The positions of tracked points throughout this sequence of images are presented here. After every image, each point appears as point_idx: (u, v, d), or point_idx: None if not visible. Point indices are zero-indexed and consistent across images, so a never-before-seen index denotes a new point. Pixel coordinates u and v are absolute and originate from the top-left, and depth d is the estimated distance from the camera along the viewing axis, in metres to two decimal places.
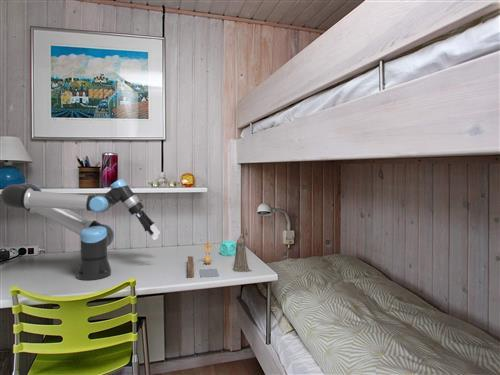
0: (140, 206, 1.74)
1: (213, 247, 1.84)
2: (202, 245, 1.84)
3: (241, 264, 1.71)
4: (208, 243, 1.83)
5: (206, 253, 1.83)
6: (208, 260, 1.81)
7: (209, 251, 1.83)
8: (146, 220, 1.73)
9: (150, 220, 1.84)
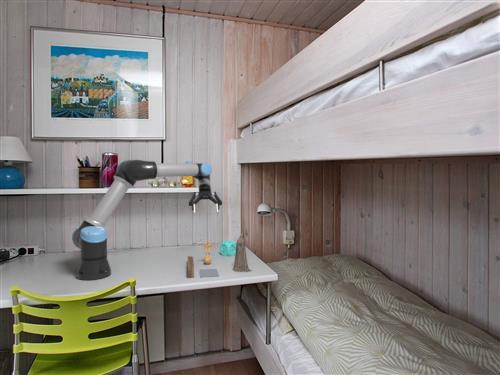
0: None
1: (213, 247, 1.84)
2: (202, 245, 1.84)
3: (241, 264, 1.71)
4: (208, 243, 1.83)
5: (206, 253, 1.83)
6: (208, 260, 1.81)
7: (209, 251, 1.83)
8: (212, 201, 2.04)
9: None
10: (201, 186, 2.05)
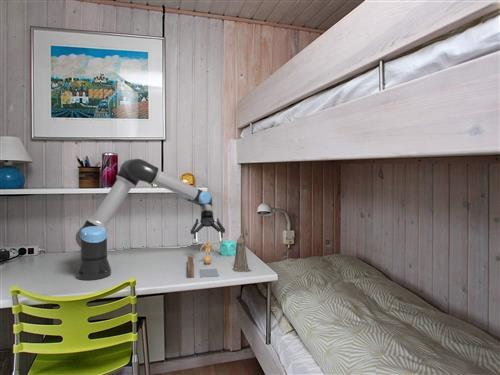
0: None
1: (213, 247, 1.84)
2: (202, 245, 1.84)
3: (241, 264, 1.71)
4: (208, 243, 1.83)
5: (206, 253, 1.83)
6: (208, 260, 1.81)
7: (209, 251, 1.83)
8: (214, 228, 1.98)
9: None
10: (203, 213, 1.99)
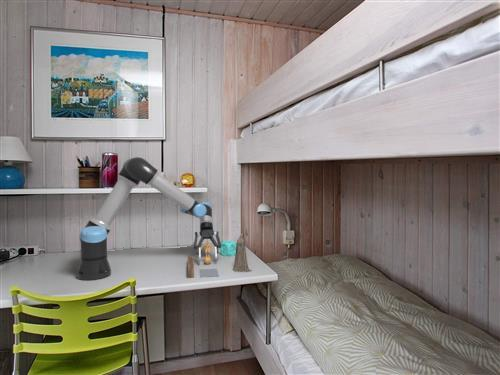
0: None
1: (213, 247, 1.84)
2: (202, 245, 1.84)
3: (241, 264, 1.71)
4: (208, 243, 1.83)
5: (206, 253, 1.83)
6: (208, 260, 1.81)
7: (209, 251, 1.83)
8: (212, 241, 1.89)
9: None
10: (203, 224, 1.91)
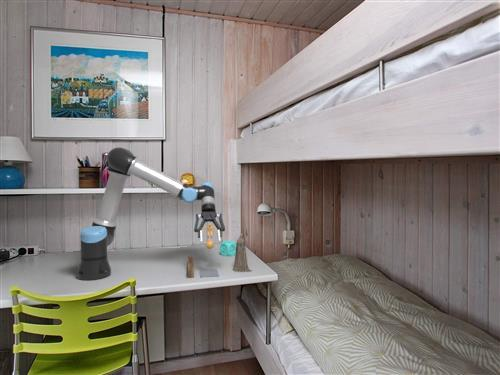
0: None
1: (216, 230, 1.66)
2: (204, 228, 1.66)
3: (241, 264, 1.71)
4: (210, 226, 1.65)
5: (208, 237, 1.65)
6: (210, 244, 1.62)
7: (211, 234, 1.65)
8: (214, 224, 1.71)
9: None
10: (204, 206, 1.73)
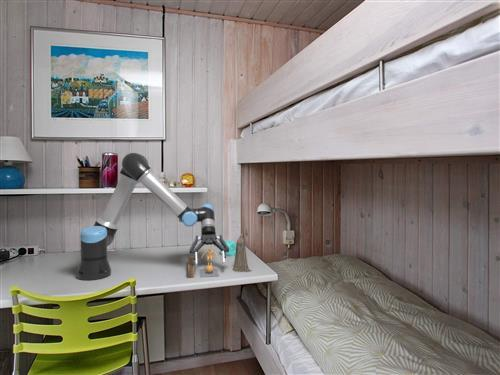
0: None
1: (216, 254, 1.67)
2: None
3: (241, 264, 1.71)
4: (210, 250, 1.66)
5: (208, 261, 1.65)
6: (210, 269, 1.63)
7: (211, 259, 1.65)
8: (217, 246, 1.72)
9: None
10: (204, 228, 1.73)
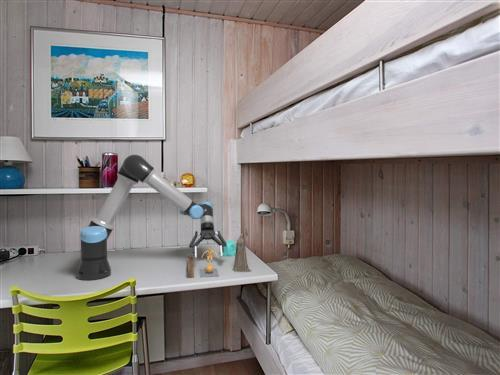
0: None
1: (216, 254, 1.67)
2: None
3: (241, 264, 1.71)
4: (210, 250, 1.66)
5: (208, 261, 1.65)
6: (210, 269, 1.63)
7: (211, 259, 1.65)
8: (215, 241, 1.83)
9: None
10: (203, 224, 1.85)
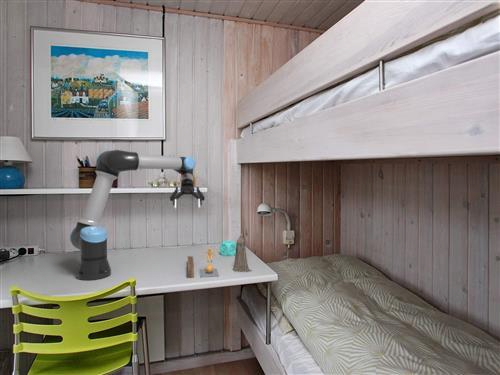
0: None
1: (216, 254, 1.67)
2: None
3: (241, 264, 1.71)
4: (210, 250, 1.66)
5: (208, 261, 1.65)
6: (210, 269, 1.63)
7: (211, 259, 1.65)
8: (194, 196, 1.99)
9: None
10: (183, 181, 2.01)
